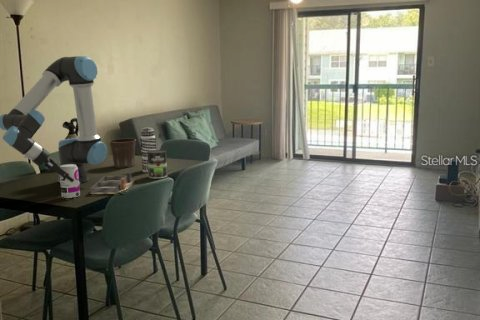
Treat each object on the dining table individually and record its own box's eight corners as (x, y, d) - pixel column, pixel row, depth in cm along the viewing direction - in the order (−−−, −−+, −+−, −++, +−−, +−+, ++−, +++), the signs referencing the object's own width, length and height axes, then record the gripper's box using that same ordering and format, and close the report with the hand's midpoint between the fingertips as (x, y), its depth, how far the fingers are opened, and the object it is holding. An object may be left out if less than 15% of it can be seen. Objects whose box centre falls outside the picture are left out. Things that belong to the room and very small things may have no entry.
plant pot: (131, 169, 283) (130, 142, 280) (106, 168, 285) (104, 142, 282) (141, 163, 298) (140, 138, 296) (117, 163, 301) (115, 138, 298)
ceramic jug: (74, 170, 283) (69, 120, 278) (55, 168, 290) (50, 119, 284) (94, 164, 298) (90, 117, 293) (75, 163, 305) (71, 116, 299)
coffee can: (168, 177, 257) (167, 152, 254) (149, 179, 254) (147, 153, 251) (166, 174, 266) (165, 149, 264) (147, 175, 264) (146, 150, 261)
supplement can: (82, 194, 225) (79, 163, 222) (77, 199, 217) (74, 167, 214) (65, 195, 225) (62, 164, 222) (59, 199, 217) (56, 167, 214)
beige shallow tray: (89, 195, 224) (88, 182, 222) (104, 182, 250) (103, 170, 249) (124, 194, 224) (123, 181, 223) (134, 181, 251) (133, 169, 249)
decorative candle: (146, 173, 270) (143, 129, 266) (139, 170, 278) (136, 127, 273) (160, 170, 276) (158, 127, 271) (153, 168, 283) (151, 126, 278)
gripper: (26, 156, 220) (63, 183, 230) (35, 165, 199) (75, 194, 209) (37, 144, 222) (73, 171, 232) (48, 151, 201) (87, 180, 211)
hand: (74, 182), depth 221 cm, fingers open, 13 cm apart
